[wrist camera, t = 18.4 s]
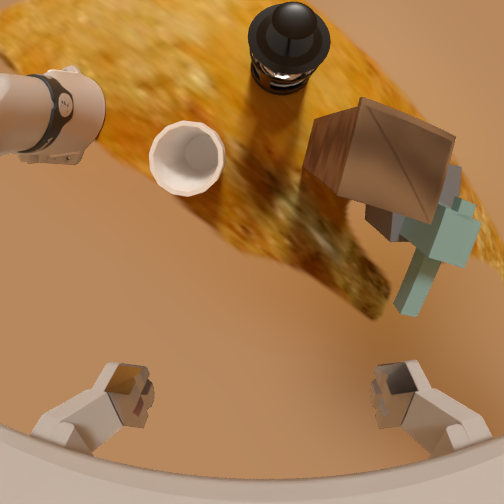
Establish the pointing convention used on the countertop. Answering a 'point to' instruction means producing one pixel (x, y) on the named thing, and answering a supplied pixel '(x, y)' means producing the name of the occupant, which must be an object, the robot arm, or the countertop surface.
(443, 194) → the riser
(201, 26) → the countertop surface
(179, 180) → the foam cup
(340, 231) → the countertop surface
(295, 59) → the french press
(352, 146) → the stand
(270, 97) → the countertop surface
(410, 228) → the green mallet
